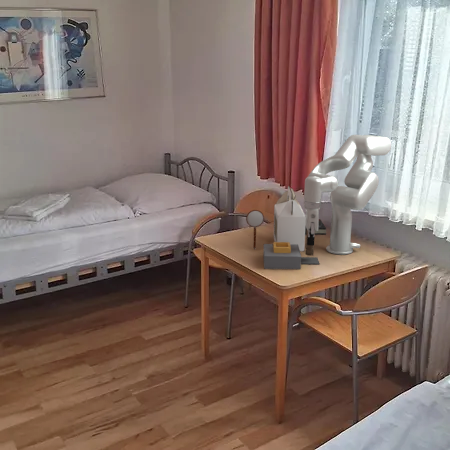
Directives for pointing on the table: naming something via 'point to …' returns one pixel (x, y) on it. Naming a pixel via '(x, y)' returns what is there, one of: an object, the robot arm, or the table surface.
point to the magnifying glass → (255, 221)
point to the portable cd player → (320, 229)
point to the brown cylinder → (309, 247)
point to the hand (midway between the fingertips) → (310, 243)
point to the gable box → (289, 220)
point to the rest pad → (310, 260)
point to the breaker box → (281, 256)
